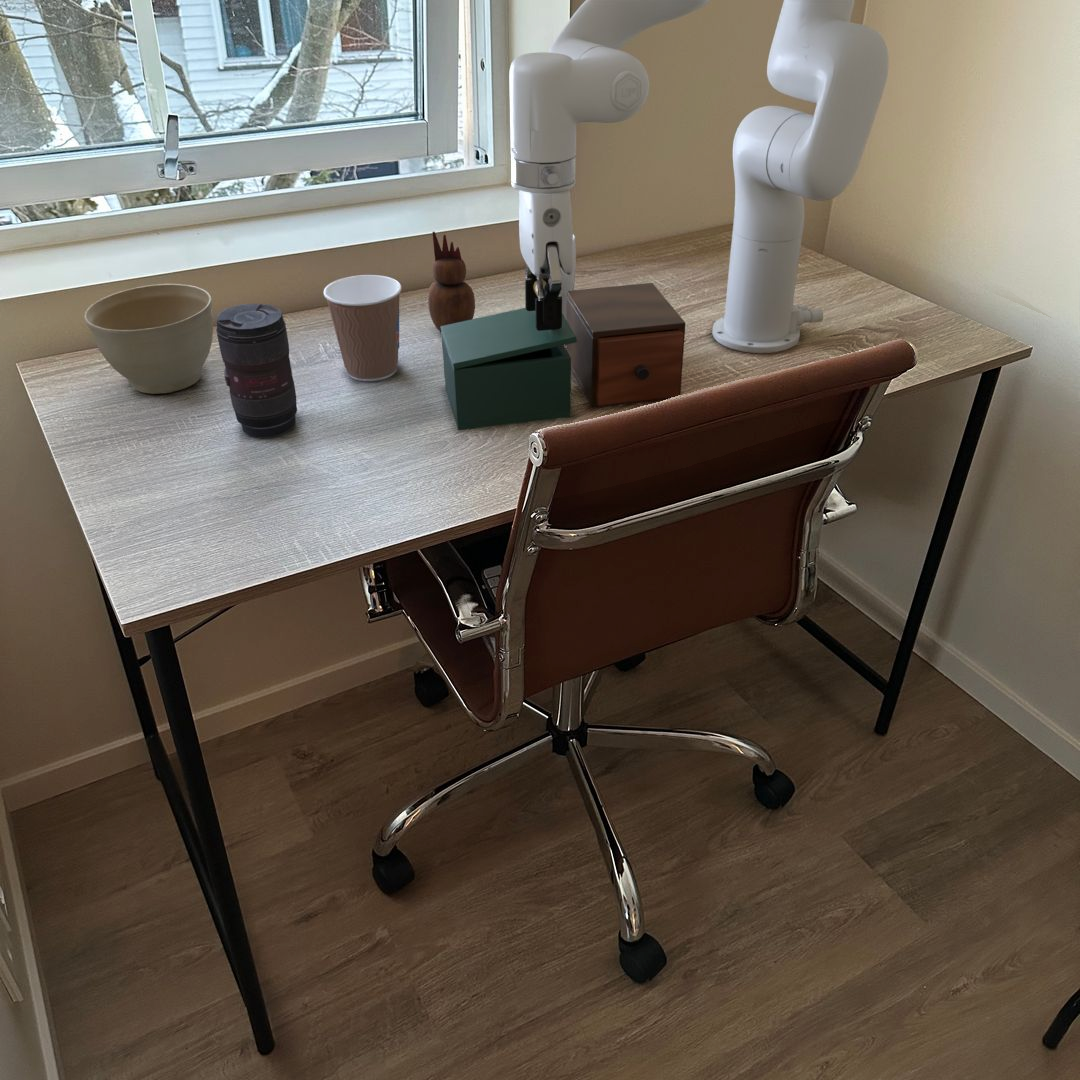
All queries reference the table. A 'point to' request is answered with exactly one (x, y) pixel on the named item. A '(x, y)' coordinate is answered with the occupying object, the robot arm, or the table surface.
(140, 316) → the planter bowl
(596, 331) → the cabinet
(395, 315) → the coffee cup
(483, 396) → the chest
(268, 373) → the camera lens
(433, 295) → the wooden figurine
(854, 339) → the table surface
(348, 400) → the table surface
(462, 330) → the lid
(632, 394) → the drawer
